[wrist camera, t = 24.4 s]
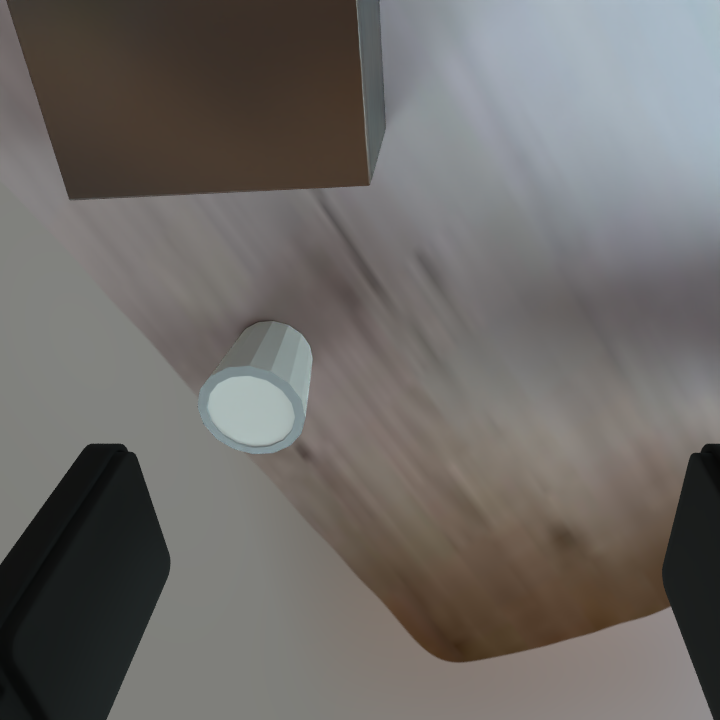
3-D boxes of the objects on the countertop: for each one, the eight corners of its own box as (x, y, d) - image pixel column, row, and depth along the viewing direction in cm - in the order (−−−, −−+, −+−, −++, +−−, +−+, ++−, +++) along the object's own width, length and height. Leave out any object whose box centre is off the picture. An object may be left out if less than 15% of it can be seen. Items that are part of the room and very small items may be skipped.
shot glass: (207, 349, 46) (174, 405, 40) (272, 294, 43) (247, 346, 37) (275, 409, 48) (253, 471, 42) (341, 361, 45) (327, 420, 40)
